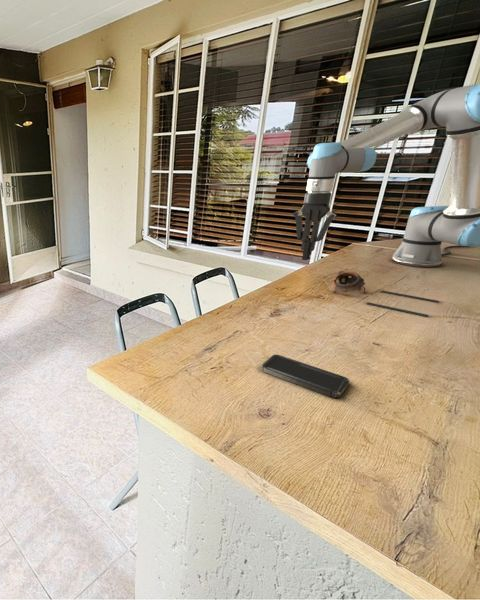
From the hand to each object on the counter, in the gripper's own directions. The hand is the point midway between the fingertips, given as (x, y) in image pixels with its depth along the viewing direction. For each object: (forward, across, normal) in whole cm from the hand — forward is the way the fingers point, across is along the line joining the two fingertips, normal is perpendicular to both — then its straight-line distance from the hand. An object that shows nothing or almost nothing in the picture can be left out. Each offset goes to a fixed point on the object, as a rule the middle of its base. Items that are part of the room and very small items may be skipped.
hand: (305, 259), depth 127 cm
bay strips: (+9, +29, 0) cm, 30 cm away
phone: (+10, +25, -64) cm, 69 cm away
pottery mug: (+9, +14, 0) cm, 17 cm away
